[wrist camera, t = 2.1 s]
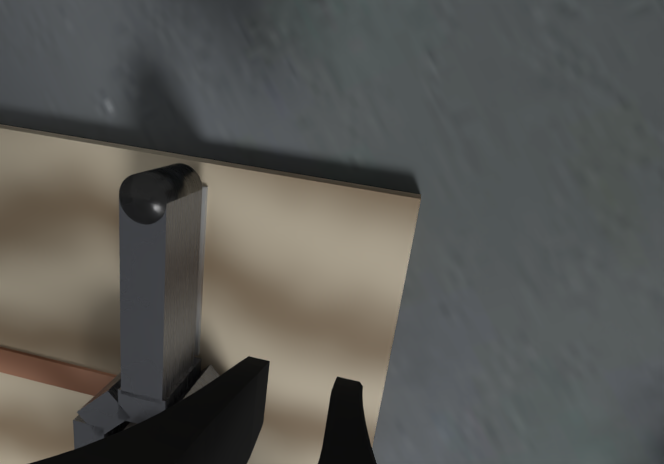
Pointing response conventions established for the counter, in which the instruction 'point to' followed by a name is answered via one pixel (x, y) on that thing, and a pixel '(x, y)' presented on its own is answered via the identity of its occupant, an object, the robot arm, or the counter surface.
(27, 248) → the base
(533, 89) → the counter surface
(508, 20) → the counter surface
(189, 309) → the grey lever handle
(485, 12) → the counter surface
